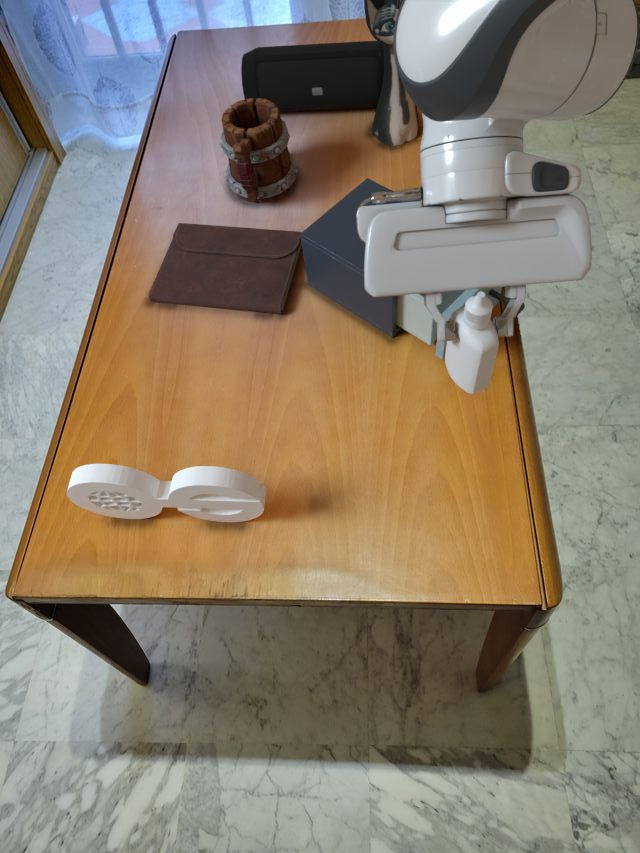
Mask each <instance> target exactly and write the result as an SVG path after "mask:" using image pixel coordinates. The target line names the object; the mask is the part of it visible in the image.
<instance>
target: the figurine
mask: <svg viewBox="0 0 640 853" xmlns="http://www.w3.org/2000/svg"><path fill="white" fill-rule="evenodd" d="M402 1H403V0H363V4H364V6H363V7H364V16H365V17H364V18H365V22H366V26H367V28H368V30H369V33H370V34H371V37H373V39H374V40H375V41H378V42H380V43H381V44H383V45H384V58H385V60H384V78H383V84H382V90H381V94H380V98H379V102H378V106H377V107H376V110H375V113H374V117H373V122H372V126H371V134H372V136H374V137H375V138H376V139H377V140H378V141H379V142H381V143H382V144H384V145H386V146H390V147H398V146H401V145H403V144H404V143H405V142H411V141H413V140H415V139H416V137H417V136H418V132H419V129H420V128H419V127H420V126H419V124H420V121H419V120H420V118H419V112H418V111H419V110H418V107H417V106H416V105H415V103H414V102H413V101H412V99H411V98H410V96H409V95H408V93H407V91H406V89H405V87H404V85H403V83H402V81H401V79H400V76H399V74H398V70H397V67H396V62H395V58H394V50H393V35H394V27H395V22H396V18H397V14H398V11H399V8H400V6H401V3H402Z"/></svg>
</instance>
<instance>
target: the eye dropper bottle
mask: <svg viewBox="0 0 640 853" xmlns="http://www.w3.org/2000/svg"><path fill="white" fill-rule="evenodd" d="M493 309H494V308H493V304H492V302H491V301H490V299H489V298H487V297H485V293H484V292H482V291H480V292H478V293H477V295H476V296H472V297H470V298H469V299H468V300H467V301H466V303H465V306H464V307H461V308H459V309H457V310H455V311H454V312H453V313H452V315H451V318H450V321H453V322H455V330H454V333H455V341H447V345H446V352H445V358H444V363H445V367H446V370H447V373H448V375H449V377H450V378H451V379H452V381H453V383H455V384H456V385H457V386H458V387H459V388H460V389H461V390H462V391H464V392H465V393H467V394H470V395H475V394H478V393H480V392H483V391H484V390H487V389H488V388H490V383H491V379H492V376H493V372H494V367H495V364H496V359H497V355H498V351H499V346H500V343H499V342H500V341H499V337H498V335H497V331H496V329H495V326H494V324H493V320H492V319H491V317H492V312H493Z"/></svg>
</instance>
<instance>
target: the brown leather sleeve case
mask: <svg viewBox="0 0 640 853" xmlns="http://www.w3.org/2000/svg"><path fill="white" fill-rule="evenodd" d="M302 232H303V231H297V230H295V231H294V230H283V229H268V228H253V227H243V226H242V227H240V226H239V227H238V226H226V225H214V224H197V223H187V222H186V223H184V222H178V223H177V226H176V228H175V230H174V232H173V235H172V240H171V242H170V244H169V246H168V249H167V251H166V254H165V255H164V258H163V260H162V262H161V265H160V267H159V269H158V272H157V274H156V277H155V279H154V281H153V283H152V286H151V287H150V290H149V293H148V299H149V301H150V302H153V303H164V304H171V305H172V304H173V305H182V306H194V307H204V308H213V309H222V310H223V309H224V310H235V311H243V312H244V311H245V312H253V313H254V312H255V313H266V314H276V315H283V314H284V311H285V307H286V304H287V300H288V297H289V293H290V291H291V287H292V284H293V280H294V277H295V273H296V270H297V267H298V265H299V264H298V262H299V260H300V257H301V253H302V251H303V248H302V242H301V236H300V233H302Z"/></svg>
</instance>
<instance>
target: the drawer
mask: <svg viewBox="0 0 640 853" xmlns="http://www.w3.org/2000/svg"><path fill="white" fill-rule="evenodd" d="M502 289H503V287H493V288H481V289H469V290H457V291H445V292H442V304H440V305H436V304H435V305H436V307H437V309H438V310H439V312H440V313H441V315H442V316H443V318H444V320H445V321H450V318H451V315H452V313H453V312H454V311H455V310H457V309H459V308H461V307H464V306H465V303H466V301H467V300H468V299H469V298H470V297H472V296H476V295H477V293H478V292H480V291H482V292H484V293H485V297H487V298H489V299H490V301H491V302H492V304H493V309H494V308H495V307H496V306H497V304H499V302H501V303H503V304H505V305H506V306H507V305H508V303H509V301H510V299H511V298H507V297H505V294H502ZM525 308H526V304H525V303H524V302H523V303H522V305H521V307H520V309H519V311H518V312H517V314H516V316H515V317H513V321H514V320H515V319H516V318H517V317H518V316H519V315H520V314H521V313H522V312H523V310H524V309H525ZM504 311H505V309H504V310H503V311H502V312H501V313H500V314H499V316H498V317H501V316H502V314H503V312H504ZM396 325H398V326H399V327H401V328H402V329H403V330H404V331H406V332H407V333H409V334H411V335H412V336H414V337H415V338H417V339H419V340H421V341H422V342H423V343H425V344H427V345H428V346H432V345H433V344H434V343H435V341H436V344H435V345H436V346H435V355H434V356H435V357H436V358H438V359H440V360H441V361H443V360H445V352H446V345H447V342H439V341H438V338H437V322H435V320H434V319H433V317H432V316H431V314H430V313H429V311H428V309H427V308H426V306H425V305H424V293H421V294H409V295H397V296H396Z"/></svg>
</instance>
